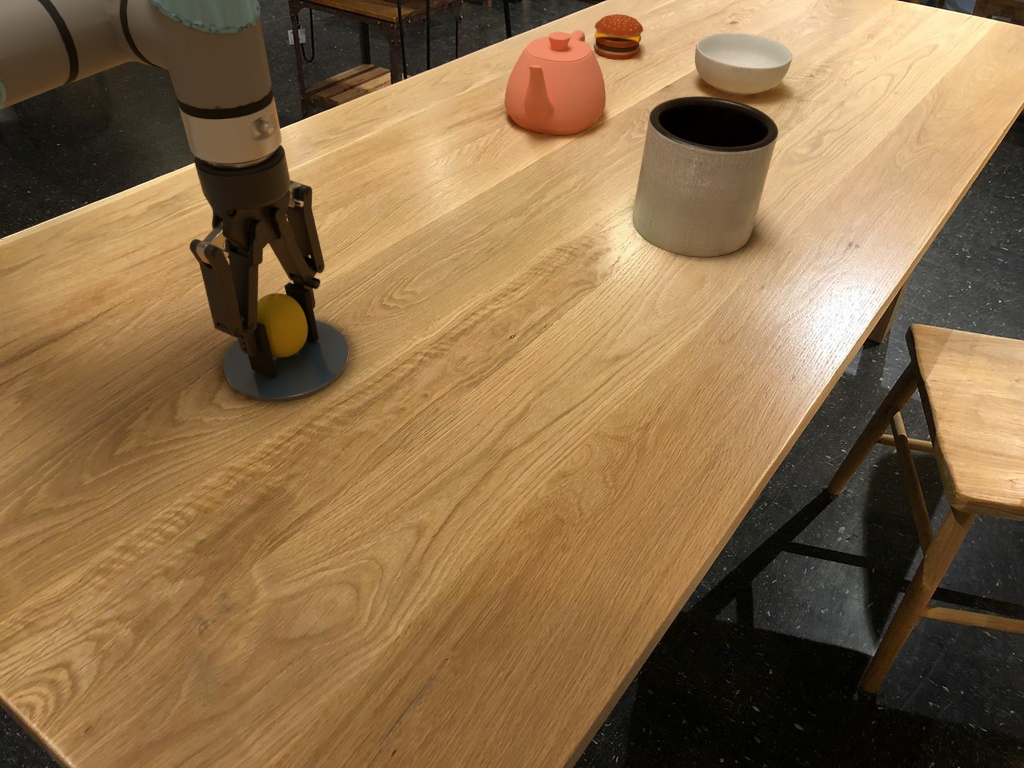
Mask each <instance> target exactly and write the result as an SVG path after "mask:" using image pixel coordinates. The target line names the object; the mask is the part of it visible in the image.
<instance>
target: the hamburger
mask: <svg viewBox="0 0 1024 768" xmlns="http://www.w3.org/2000/svg"><path fill="white" fill-rule="evenodd" d="M594 29H595V30H596V31H595V33H594V39H595V42H594V44H593V51H594V53H596V54H597V55H598V56H601V57H602V58H603V57H604V58H607V59H610V60H611V59H612V60H627V59H632V58H634V57H637V56H638V55H639V53H640V42H641V41H642V36H641V34H642V32H644V27H643V25H642V24H641V23H640V22H639V20H638V19H637V18H635V17H633V16H630V15H627V14H619V13H618V14H617V13H615V14H607V15H605V16H603V17H602V18H600V19H598V21H596V23H594Z"/></svg>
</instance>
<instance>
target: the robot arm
mask: <svg viewBox="0 0 1024 768" xmlns="http://www.w3.org/2000/svg"><path fill="white" fill-rule="evenodd" d="M267 56H268V55H267V51H266V45H265V39H264V34H263V28H262V22H261V7H260V3H259V1H258V0H0V111H1V110H4V109H5V108H8V107H10V106H13V105H15V104H18V103H21V102H23V101H25V100H29V99H31V98H34V97H35V96H37V95H41V94H44V93H46V92H48V91H52V90H54V89H57V88H59V87H63V86H66V85H67V84H72V83H74V82H77V81H80V80H82V79H85V78H88V77H91V76H93V75H96V74H98V73H102V72H104V71H106V70H109V69H112V68H115V67H117V66H120V65H123V64H125V63H128V62H137V63H140V64H144V65H147V66H149V67H154V68H157V69H161V70H167V71H168V73H169V77H170V80H171V82H172V86H173V89H174V92H175V98H176V101H177V104H178V108H179V112H180V116H181V119H182V124H183V128H184V131H185V135H186V139H187V143H188V146H189V150H190V152H191V153H192V154H193V156H194V166H195V170H196V173H197V177H198V180H199V185H200V187H201V191H202V194H203V196H204V198H205V199H206V201H207V203H208V205H209V206H210V208H211V211H212V221H211V227H212V229H211V231H210V232H209V233H208V234H207V235H206V236H205V238H203V240H201V239H198V238H194V239H192V240H191V242H190V243H189V251H190V252H191V253H192V255H193V256H194V258H195V259H196V261H197V262H198V264H199V268H200V272H201V276H202V281H203V285H204V290H205V294H206V298H207V302H208V306H209V310H210V315H211V318H212V323H213V327H214V329H215V330H217V331H219V332H221V333H224V334H226V335H228V336H231V337H234V338H236V339H238V341H239V345H240V348H241V350H242V352H243V353H246V354H248V357H249V361H250V364H251V368H252V370H254V371H256V372H258V373H260V374H263V375H265V376H267V377H269V378H274V377H275V376H276V375H277V372H276V368H275V364H274V360H273V356H272V352H271V348H270V344H269V340H268V336H267V332H266V328H265V325H263V324H261V323H258V322H257V317H258V301H259V266H260V265H261V264H262V263H263V261H264V249H265V248H266V246H268V244H269V247H270V248H271V250H272V251H273V254H274V255H275V257H276V259H277V260H278V262H279V263H280V266H281V267H282V269H283V270H284V272H285V274H286V276H287V277H288V279H289V281H292V282H287V283H286V284H285V285H283V286H284V291H285V295H288V296H290V297H292V298H293V299H294V300H296V301H297V302H298V304H299V305H300V307H301V308H302V310H303V312H304V314H305V317H306V321H307V326H308V333H307V340H310V341H312V342H315V341H317V340H318V339H319V337H318V332H317V327H316V321H315V320H316V317H315V312H314V311H315V310H314V309H315V308H316V299H315V292H314V290H318V289H319V287H320V286H321V279H320V278H317V277H315V276H316V275H317V274H322V273H323V272H324V270H325V266H326V265H325V260H324V256H323V252H322V248H321V243H320V242H321V241H320V238H319V235H318V230H317V226H316V225H317V224H316V221H315V217H314V212H313V188H312V187H311V186H310V185H307V184H304V183H300V182H297V181H294V180H291V177H290V171H289V166H288V160H287V156H286V151H285V148H284V146H283V145H282V141H283V140H282V139H283V137H282V133H281V128H280V121H279V117H278V111H277V106H276V102H275V101H276V100H275V95H274V89H273V84H272V79H271V73H270V66H269V62H268V57H267Z"/></svg>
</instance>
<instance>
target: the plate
mask: <svg viewBox="0 0 1024 768" xmlns="http://www.w3.org/2000/svg"><path fill="white" fill-rule="evenodd" d="M315 321H316V327H317V332H318V337H319V339H318V340H317V341H315V342H312V341H310V340H307V339H306V342H305V344H304V345H303V347H302V348H301V349H300V350H299V351H298V352H297V353H295V354H294V355H291V356H288V357H274V356H273V360H274V364H275V368H276V372H277V375H276V376H275V377H274V378H269V377H267V376H265V375H263V374H260V373H258V372H256V371H254V370H252V368H251V364H250V361H249V357H248V354H246V353H243V352H242V350H241V348H240V345H239V341H238V338H236V340H234V342H232V343H231V345H230V346H229V347H228V349H227V351H226V353H225V355H224V358H223V364H222V369H223V373H224V377H225V379H226V382H227V383H228V385H229V386H230V387H231V388H232V390H234V391H235V392H237V393H238V394H239V395H241V396H243V397H245V398H248V399H251V400H255V401H258V402H264V403H265V402H266V403H286V402H294V401H298V400H302V399H305V398H308V397H311V396H313V395H317V394H318V393H320V392H322V391H324V390H325V389H326V388H329V387H330V386H332V384H334V383H335V382H336V381H337V380H338V379H339V378H340V377H342V375H343V373H344V372H345V370H346V368H347V366H348V363H349V359H350V352H349V351H350V350H349V345H348V341H347V340H346V338H345V337H344V335H343V334H342V333H341V332H340V331H339V330H338V329H337V328H335V327H334V326H332V325H331V324H328V323H326V322H323V321H320V320H317V319H315Z"/></svg>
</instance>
